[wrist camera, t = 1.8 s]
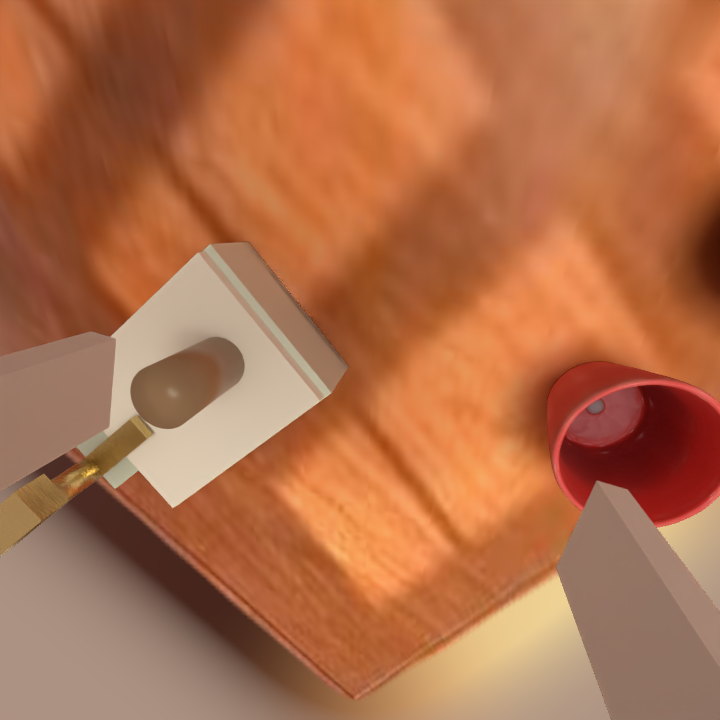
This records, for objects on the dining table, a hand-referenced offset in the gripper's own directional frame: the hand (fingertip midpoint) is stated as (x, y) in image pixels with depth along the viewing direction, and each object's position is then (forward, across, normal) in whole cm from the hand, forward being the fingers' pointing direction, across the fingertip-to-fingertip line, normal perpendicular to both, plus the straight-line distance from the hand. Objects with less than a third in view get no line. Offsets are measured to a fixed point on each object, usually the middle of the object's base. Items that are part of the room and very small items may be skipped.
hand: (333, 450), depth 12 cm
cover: (+21, -14, -10) cm, 27 cm away
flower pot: (+28, +18, -4) cm, 33 cm away
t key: (+20, -20, -18) cm, 34 cm away
